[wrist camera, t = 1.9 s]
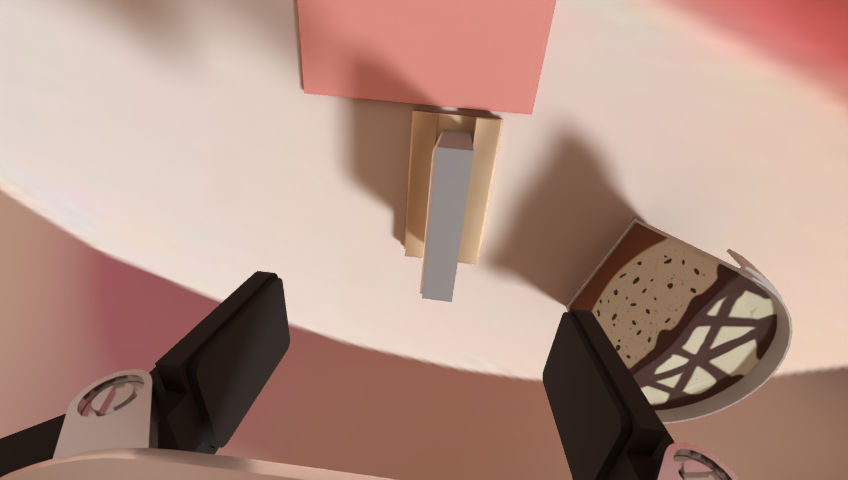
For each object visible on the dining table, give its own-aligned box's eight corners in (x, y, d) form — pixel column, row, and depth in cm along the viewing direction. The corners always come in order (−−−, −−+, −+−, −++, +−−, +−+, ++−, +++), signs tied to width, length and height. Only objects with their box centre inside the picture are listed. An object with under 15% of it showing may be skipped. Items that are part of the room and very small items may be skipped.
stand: (502, 119, 22) (505, 121, 21) (478, 255, 27) (479, 265, 26) (412, 110, 23) (409, 111, 21) (404, 246, 27) (401, 255, 26)
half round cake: (615, 342, 29) (683, 453, 20) (556, 318, 29) (599, 420, 20) (718, 232, 24) (871, 317, 15) (647, 201, 24) (763, 268, 15)
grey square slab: (469, 131, 22) (473, 150, 15) (454, 244, 26) (451, 301, 19) (441, 128, 23) (432, 146, 15) (430, 241, 26) (418, 297, 19)
